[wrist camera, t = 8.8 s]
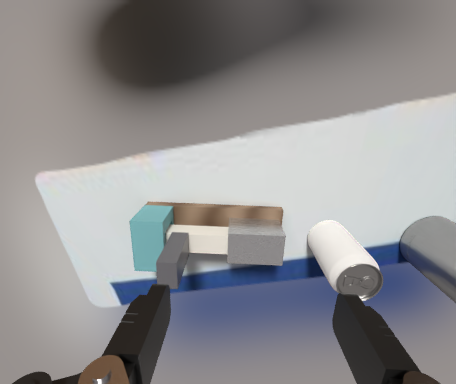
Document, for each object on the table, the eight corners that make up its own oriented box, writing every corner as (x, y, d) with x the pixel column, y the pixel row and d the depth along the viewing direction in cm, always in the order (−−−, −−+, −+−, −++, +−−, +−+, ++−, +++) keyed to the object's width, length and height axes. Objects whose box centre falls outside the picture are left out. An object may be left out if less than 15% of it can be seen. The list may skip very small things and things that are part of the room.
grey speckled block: (279, 219, 39) (285, 236, 34) (276, 246, 41) (282, 265, 36) (229, 217, 39) (228, 233, 34) (228, 244, 41) (227, 263, 36)
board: (281, 207, 40) (283, 210, 39) (276, 249, 43) (278, 254, 41) (148, 201, 40) (145, 205, 39) (151, 244, 43) (148, 248, 42)
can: (341, 253, 42) (380, 306, 31) (304, 251, 43) (328, 303, 31) (348, 219, 40) (393, 262, 29) (309, 217, 41) (338, 259, 29)
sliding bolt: (242, 225, 38) (244, 266, 28) (240, 246, 39) (242, 292, 29) (152, 221, 38) (123, 260, 28) (154, 242, 39) (126, 286, 29)
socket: (173, 206, 39) (162, 222, 33) (174, 250, 42) (165, 272, 36) (145, 205, 39) (129, 221, 33) (148, 248, 42) (134, 270, 36)
